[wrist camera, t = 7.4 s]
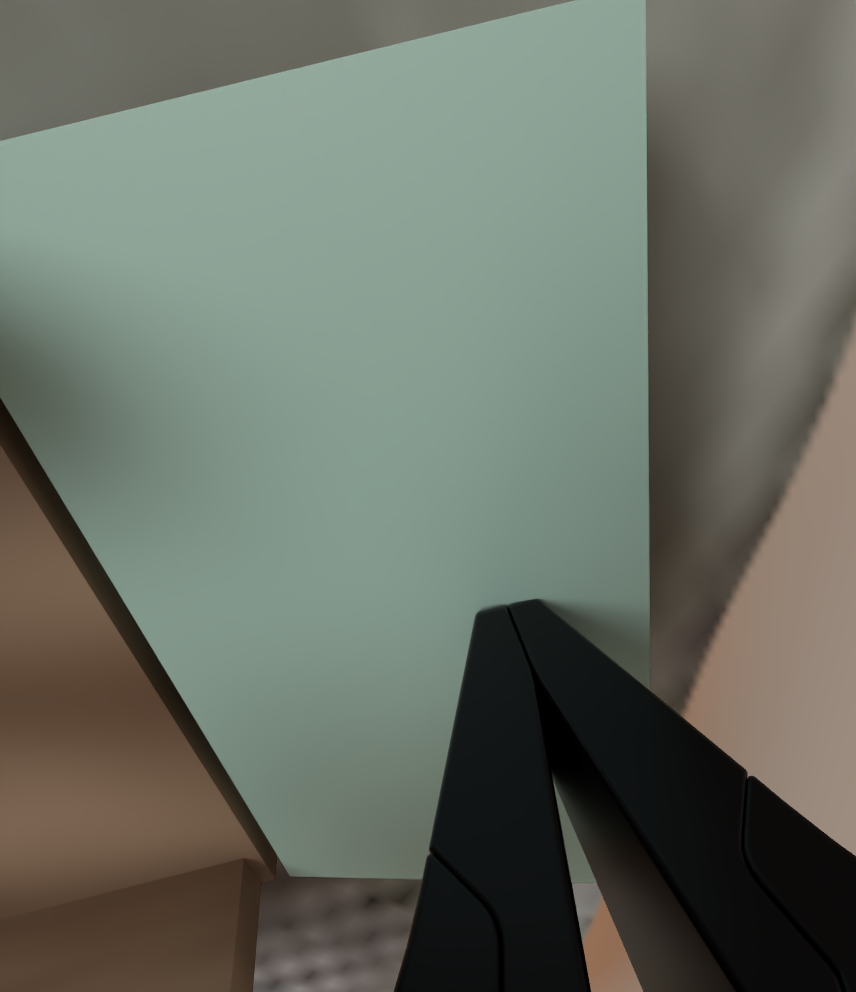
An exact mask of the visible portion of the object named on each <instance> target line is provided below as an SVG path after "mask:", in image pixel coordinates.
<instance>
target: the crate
mask: <svg viewBox="0 0 856 992" xmlns="http://www.w3.org/2000/svg"><path fill="white" fill-rule="evenodd" d="M276 863H277V854H276V852H275V851H274V849H273V848H272V846H271V844H270V843H269V841H268V839H267V838H266V836H265V834H264V833H263V831H262V829H261V828H260V826H259V824H258V823H257V821H256V819H255V818H254V816H253V814H252V813H251V811H250V809H249V808H248V806H247V805H246V803H245V801H244V800H243V798H242V796H241V795H240V793H239V791H238V790H237V788H236V786H235V785H234V783H233V781H232V780H231V778H230V776H229V775H228V773H227V771H226V770H225V768H224V767H223V765H222V763H221V762H220V760H219V758H218V757H217V755H216V753H215V752H214V750H213V748H212V747H211V745H210V743H209V742H208V740H207V738H206V737H205V735H204V733H203V732H202V730H201V728H200V727H199V725H198V724H197V722H196V720H195V719H194V717H193V715H192V714H191V712H190V710H189V709H188V707H187V705H186V704H185V702H184V700H183V699H182V697H181V695H180V694H179V692H178V690H177V689H176V687H175V686H174V684H173V682H172V681H171V679H170V677H169V676H168V674H167V672H166V671H165V669H164V667H163V666H162V664H161V662H160V661H159V659H158V657H157V656H156V654H155V652H154V651H153V649H152V647H151V646H150V644H149V643H148V641H147V639H146V638H145V636H144V634H143V633H142V631H141V629H140V628H139V626H138V624H137V623H136V621H135V619H134V618H133V616H132V614H131V613H130V611H129V609H128V608H127V606H126V605H125V603H124V601H123V600H122V598H121V596H120V595H119V593H118V591H117V590H116V588H115V586H114V585H113V583H112V581H111V580H110V578H109V576H108V575H107V573H106V571H105V570H104V568H103V566H102V565H101V563H100V562H99V560H98V558H97V557H96V555H95V553H94V552H93V550H92V548H91V547H90V545H89V543H88V542H87V540H86V538H85V537H84V535H83V533H82V532H81V530H80V528H79V527H78V525H77V524H76V522H75V520H74V519H73V517H72V515H71V514H70V512H69V510H68V509H67V507H66V505H65V504H64V502H63V500H62V499H61V497H60V495H59V494H58V492H57V490H56V489H55V487H54V486H53V484H52V482H51V481H50V479H49V477H48V476H47V474H46V472H45V471H44V469H43V467H42V466H41V464H40V462H39V461H38V459H37V457H36V456H35V454H34V452H33V451H32V449H31V447H30V446H29V444H28V443H27V441H26V439H25V438H24V436H23V434H22V433H21V431H20V429H19V428H18V426H17V424H16V423H15V421H14V419H13V418H12V416H11V414H10V413H9V411H8V409H7V408H6V406H5V405H4V403H3V401H2V400H1V398H0V992H253V982H254V968H255V955H256V942H257V929H258V916H259V903H260V890H261V884H262V883H266V882H270V881H274V880H276Z"/></svg>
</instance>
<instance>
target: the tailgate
mask: <svg viewBox="0 0 856 992" xmlns="http://www.w3.org/2000/svg"><path fill="white" fill-rule="evenodd" d="M0 398H1V400H2V401H3V403H4V405H5V406H6V408H7V409H8V411H9V413H10V414H11V416H12V418H13V419H14V421H15V423H16V424H17V426H18V428H19V429H20V431H21V433H22V434H23V436H24V438H25V439H26V441H27V443H28V444H29V446H30V447H31V449H32V451H33V452H34V454H35V456H36V457H37V459H38V461H39V462H40V464H41V466H42V467H43V469H44V471H45V472H46V474H47V476H48V477H49V479H50V481H51V482H52V484H53V486H54V487H55V489H56V490H57V492H58V494H59V495H60V497H61V499H62V500H63V502H64V504H65V505H66V507H67V509H68V510H69V512H70V514H71V515H72V517H73V519H74V520H75V522H76V524H77V525H78V527H79V528H80V530H81V532H82V533H83V535H84V537H85V538H86V540H87V542H88V543H89V545H90V547H91V548H92V550H93V552H94V553H95V555H96V557H97V558H98V560H99V562H100V563H101V565H102V566H103V568H104V570H105V571H106V573H107V575H108V576H109V578H110V580H111V581H112V583H113V585H114V586H115V588H116V590H117V591H118V593H119V595H120V596H121V598H122V600H123V601H124V603H125V605H126V606H127V608H128V609H129V611H130V613H131V614H132V616H133V618H134V619H135V621H136V623H137V624H138V626H139V628H140V629H141V631H142V633H143V634H144V636H145V638H146V639H147V641H148V643H149V644H150V646H151V647H152V649H153V651H154V652H155V654H156V656H157V657H158V659H159V661H160V662H161V664H162V666H163V667H164V669H165V671H166V672H167V674H168V676H169V677H170V679H171V681H172V682H173V684H174V686H175V687H176V689H177V690H178V692H179V694H180V695H181V697H182V699H183V700H184V702H185V704H186V705H187V707H188V709H189V710H190V712H191V714H192V715H193V717H194V719H195V720H196V722H197V724H198V725H199V727H200V728H201V730H202V732H203V733H204V735H205V737H206V738H207V740H208V742H209V743H210V745H211V747H212V748H213V750H214V752H215V753H216V755H217V757H218V758H219V760H220V762H221V763H222V765H223V767H224V768H225V770H226V771H227V773H228V775H229V776H230V778H231V780H232V781H233V783H234V785H235V786H236V788H237V790H238V791H239V793H240V795H241V796H242V798H243V800H244V801H245V803H246V805H247V806H248V808H249V809H250V811H251V813H252V814H253V816H254V818H255V819H256V821H257V823H258V824H259V826H260V828H261V829H262V831H263V833H264V834H265V836H266V838H267V839H268V841H269V843H270V844H271V846H272V848H273V849H274V851H275V852H276V854H277V856H278V857H279V859H280V861H281V862H282V864H283V866H284V867H285V869H286V871H287V872H288V874H289V876H295V877H340V878H385V879H422V877H423V872H424V867H425V862H426V858H427V856H428V855H429V854H430V852H429V844H430V839H431V834H432V829H433V824H434V819H435V814H436V809H437V804H438V799H439V794H440V789H441V784H442V779H443V774H444V769H445V764H446V759H447V754H448V749H449V744H450V739H451V734H452V729H453V724H454V719H455V714H456V709H457V704H458V698H459V693H460V688H461V683H462V678H463V673H464V668H465V663H466V658H467V653H468V648H469V643H470V638H471V633H472V628H473V623H474V618H475V615H476V613H477V612H478V611H481V610H485V609H489V608H493V607H497V606H505V607H506V608H508V605H509V604H511V603H515V602H520V601H525V600H531V599H539V600H541V601H542V602H543V603H545V604H546V605H547V606H548V607H549V608H551V609H552V610H553V611H554V612H555V613H557V614H558V615H559V616H560V617H562V618H563V619H564V620H565V621H566V622H568V623H569V624H570V625H571V626H572V627H574V628H575V629H576V630H577V631H578V632H580V633H581V634H582V635H583V636H585V637H586V638H587V639H588V640H589V641H591V642H592V643H593V644H594V645H595V646H597V647H598V648H599V649H600V650H601V651H603V652H604V653H605V654H606V655H608V656H609V657H610V658H611V659H612V660H614V661H615V662H616V663H617V664H618V665H620V666H621V667H622V668H623V669H624V670H626V671H627V672H628V673H629V674H630V675H632V676H633V677H634V678H635V679H637V680H638V681H639V682H640V683H641V684H643V685H644V686H645V687H646V688H647V689H649V690H650V568H649V420H648V271H647V123H646V0H574V1H570V2H566V3H562V4H558V5H554V6H550V7H546V8H542V9H537V10H533V11H529V12H525V13H521V14H517V15H513V16H509V17H505V18H501V19H497V20H493V21H488V22H484V23H480V24H476V25H472V26H468V27H464V28H460V29H456V30H452V31H448V32H444V33H439V34H435V35H431V36H427V37H423V38H419V39H415V40H411V41H407V42H403V43H399V44H395V45H390V46H386V47H382V48H378V49H374V50H370V51H366V52H362V53H358V54H354V55H350V56H346V57H341V58H337V59H333V60H329V61H325V62H321V63H317V64H313V65H309V66H305V67H301V68H297V69H292V70H288V71H284V72H280V73H276V74H272V75H268V76H264V77H260V78H256V79H252V80H248V81H244V82H239V83H235V84H231V85H227V86H223V87H219V88H215V89H211V90H207V91H203V92H199V93H195V94H190V95H186V96H182V97H178V98H174V99H170V100H166V101H162V102H158V103H154V104H150V105H146V106H141V107H137V108H133V109H129V110H125V111H121V112H117V113H113V114H109V115H105V116H101V117H97V118H92V119H88V120H84V121H80V122H76V123H72V124H68V125H64V126H60V127H56V128H52V129H48V130H43V131H39V132H35V133H31V134H27V135H23V136H19V137H15V138H11V139H7V140H3V141H0ZM553 782H554V781H553ZM554 788H555V793H556V799H557V804H558V810H559V815H560V821H561V827H562V832H563V838H564V843H565V849H566V855H567V860H568V866H569V871H570V877H571V882H572V883H597V882H596V880H595V877H594V875H593V873H592V870H591V868H590V866H589V863H588V861H587V859H586V856H585V854H584V852H583V849H582V847H581V845H580V842H579V840H578V838H577V835H576V833H575V831H574V828H573V826H572V824H571V821H570V819H569V817H568V814H567V812H566V810H565V807H564V805H563V803H562V800H561V798H560V796H559V793H558V791H557V789H556V786H555V783H554Z"/></svg>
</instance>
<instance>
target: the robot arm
mask: <svg viewBox="0 0 856 992" xmlns="http://www.w3.org/2000/svg"><path fill="white" fill-rule="evenodd" d="M553 781H554V782H553ZM554 783H555V786H556V789H557V791H558V793H559V796H560V798H561V800H562V803H563V805H564V807H565V810H566V812H567V814H568V817H569V819H570V821H571V824H572V826H573V828H574V831H575V833H576V835H577V838H578V840H579V842H580V845H581V847H582V849H583V852H584V854H585V856H586V859H587V861H588V863H589V866H590V868H591V870H592V873H593V875H594V877H595V880H596V882H597V884H598V887H599V889H600V891H601V894H602V896H603V898H604V901H605V903H606V905H607V907H608V910H609V912H610V915H611V917H612V919H613V922H614V924H615V926H616V928H617V931H618V933H619V936H620V938H621V940H622V943H623V945H624V947H625V950H626V952H627V954H628V957H629V959H630V961H631V964H632V966H633V968H634V971H635V973H636V975H637V978H638V980H639V982H640V985H641V987H642V989H643V992H856V856H855V855H853V854H852V853H851V852H849V851H848V850H846V849H845V848H843V847H842V846H841V845H839V844H838V843H837V842H835V841H834V840H833V839H831V838H830V837H829V836H828V835H826V834H825V833H824V832H822V831H821V830H820V829H819V828H817V827H816V826H815V825H814V824H812V823H811V822H810V821H809V820H807V819H806V818H805V817H803V816H802V815H801V814H800V813H798V812H797V811H796V810H794V809H793V808H792V807H791V806H789V805H788V804H787V803H786V802H784V801H783V800H782V799H781V798H779V797H778V796H777V795H776V794H775V793H774V792H772V791H771V790H770V789H769V788H767V787H766V786H765V785H764V784H763V783H762V782H760V781H759V780H758V779H757V778H755V777H754V776H749V777H748V779H747V771H746V770H745V769H744V768H743V767H742V766H741V765H739V764H738V763H737V762H736V761H735V760H733V759H732V758H731V757H730V756H728V755H727V754H726V753H725V752H724V751H722V750H721V749H720V748H719V747H718V746H716V745H715V744H714V743H713V742H712V741H710V740H709V739H708V738H707V737H706V736H704V735H703V734H702V733H701V732H699V731H698V730H697V729H696V728H695V727H693V726H692V725H691V724H690V723H689V722H687V721H686V720H685V719H684V718H683V717H681V716H680V715H679V714H678V713H676V712H675V711H674V710H673V709H672V708H670V707H669V706H668V705H667V704H666V703H664V702H663V701H662V700H661V699H660V698H658V697H657V696H656V695H655V694H653V693H652V692H651V691H650V690H649V689H647V688H646V687H645V686H644V685H643V684H641V683H640V682H639V681H638V680H637V679H635V678H634V677H633V676H632V675H630V674H629V673H628V672H627V671H626V670H624V669H623V668H622V667H621V666H620V665H618V664H617V663H616V662H615V661H614V660H612V659H611V658H610V657H609V656H608V655H606V654H605V653H604V652H603V651H601V650H600V649H599V648H598V647H597V646H595V645H594V644H593V643H592V642H591V641H589V640H588V639H587V638H586V637H585V636H583V635H582V634H581V633H580V632H578V631H577V630H576V629H575V628H574V627H572V626H571V625H570V624H569V623H568V622H566V621H565V620H564V619H563V618H562V617H560V616H559V615H558V614H557V613H555V612H554V611H553V610H552V609H551V608H549V607H548V606H547V605H546V604H545V603H543V602H542V601H541V600H539V599H531V600H525V601H520V602H515V603H511V604H509V605H508V608H506V607H505V606H497V607H493V608H489V609H485V610H481V611H478V612H477V613H476V615H475V618H474V623H473V628H472V633H471V638H470V643H469V648H468V653H467V658H466V663H465V668H464V673H463V678H462V683H461V688H460V693H459V698H458V704H457V709H456V714H455V719H454V724H453V729H452V734H451V739H450V744H449V749H448V754H447V759H446V764H445V769H444V774H443V779H442V784H441V789H440V794H439V799H438V804H437V809H436V814H435V819H434V824H433V829H432V834H431V839H430V844H429V852H430V854H429V855H428V856H427V858H426V862H425V867H424V872H423V877H422V882H421V887H420V892H419V896H418V901H417V905H416V909H415V914H414V918H413V922H412V926H411V931H410V935H409V939H408V944H407V948H406V951H405V955H404V958H403V961H402V965H401V968H400V972H399V975H398V979H397V982H396V986H395V989H394V992H591V989H590V983H589V977H588V972H587V966H586V961H585V955H584V950H583V944H582V938H581V933H580V927H579V922H578V916H577V910H576V905H575V899H574V894H573V888H572V882H571V877H570V871H569V866H568V860H567V855H566V849H565V843H564V838H563V832H562V827H561V821H560V815H559V810H558V804H557V799H556V793H555V788H554Z"/></svg>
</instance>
